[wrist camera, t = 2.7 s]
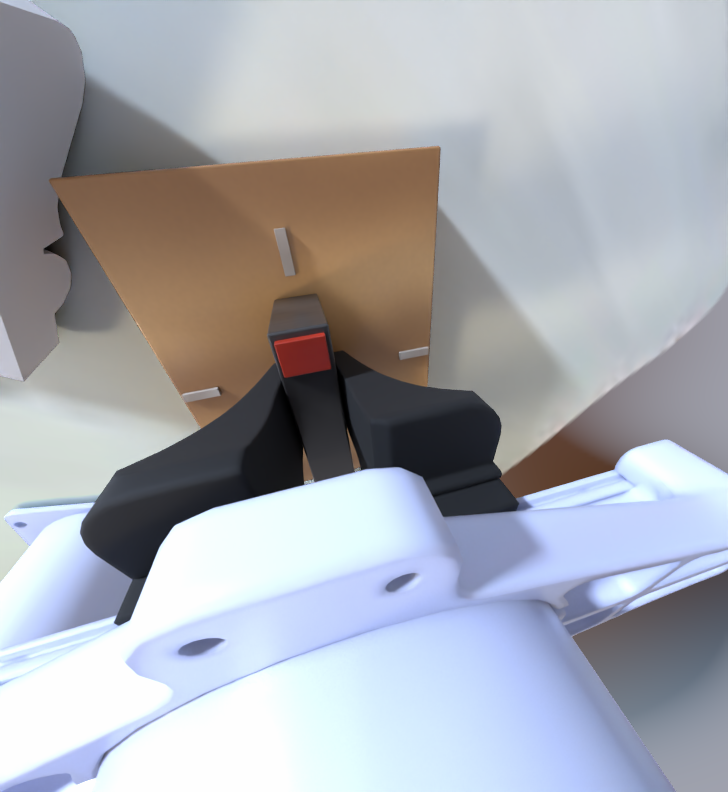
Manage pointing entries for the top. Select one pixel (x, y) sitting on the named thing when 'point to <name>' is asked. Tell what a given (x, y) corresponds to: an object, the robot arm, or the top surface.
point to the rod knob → (311, 383)
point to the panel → (268, 261)
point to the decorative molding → (33, 177)
